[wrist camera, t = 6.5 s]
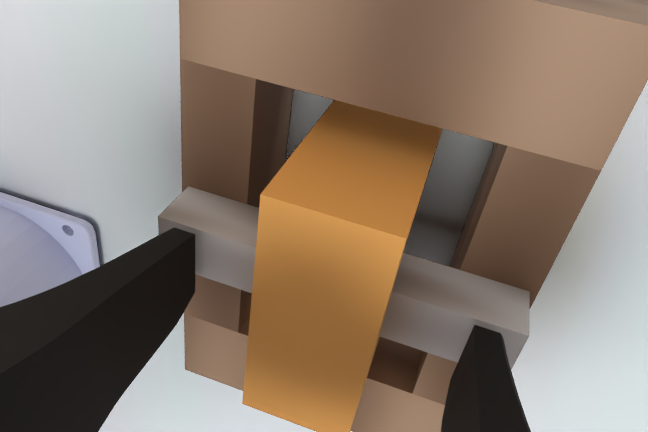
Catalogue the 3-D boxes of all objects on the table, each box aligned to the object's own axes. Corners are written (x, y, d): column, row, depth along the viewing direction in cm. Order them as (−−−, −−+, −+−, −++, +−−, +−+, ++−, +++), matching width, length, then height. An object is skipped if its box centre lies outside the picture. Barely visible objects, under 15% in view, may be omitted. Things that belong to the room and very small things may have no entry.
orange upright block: (307, 278, 19) (242, 403, 15) (338, 95, 15) (260, 194, 11) (389, 305, 19) (346, 442, 15) (443, 123, 15) (406, 238, 10)
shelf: (221, 314, 23) (162, 403, 19) (238, -92, 14) (134, -69, 10) (457, 397, 21) (442, 511, 18) (646, -5, 12) (692, 58, 9)
